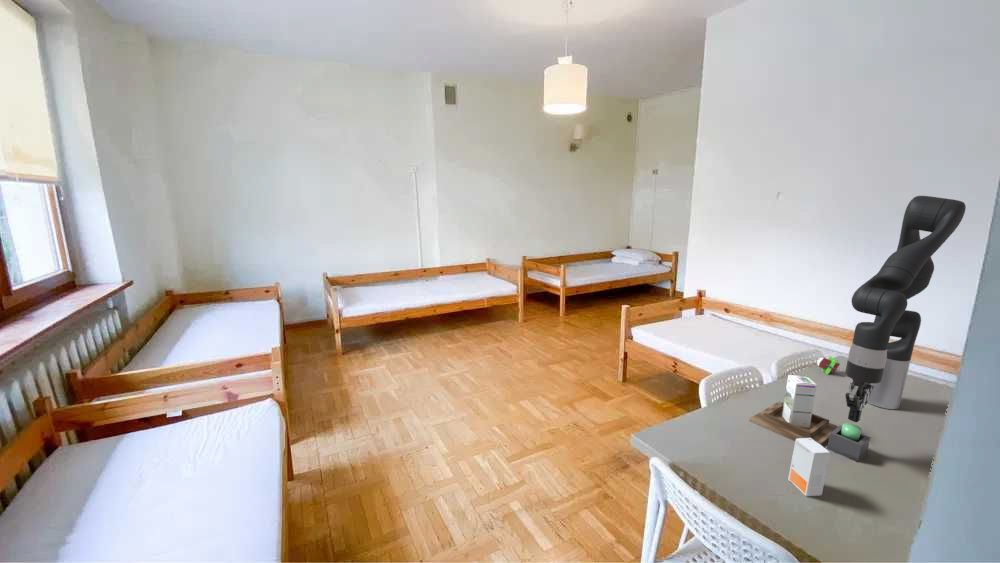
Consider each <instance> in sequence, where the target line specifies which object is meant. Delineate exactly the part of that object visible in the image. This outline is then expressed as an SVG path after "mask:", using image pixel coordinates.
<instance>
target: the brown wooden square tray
mask: <svg viewBox="0 0 1000 563" xmlns="http://www.w3.org/2000/svg"><path fill="white" fill-rule="evenodd" d="M783 406H784V401H783V402H780V403H779V402H776V403H773V404H771V405H770V406H768V407H766V408H765V409H763V410H761V411H760V412H758V413H757V414H754V415H753V416H751V417H750V418H749V422H750V423H753V422H754V423H753V424H755V423H756V425H757V424H758V426H760V427H762V428H765V429H766V428H767V430H769V431H771V432H773V433H775V434H778V435H781V436H782V437H785V438H787V439H790V440H791V441H793V442H795V440H796V439H797V438H812V439H813V440H814V441H816V442H817V443H819V444H820V445H822V446H823V445H824V444H825V443H827V442H828V441H829V436H830V433H831V432H832V431H833V430H835V429H836V428H837V427H839V426H840V425H836V424H834V423H832V422H830V419H827V418H826V417H823V416H820V415H817V414H814V413H812V416H811V422H810V427H809V428H804V427H798V426H796V425H793V424H791V423H788V422H786V421H785V420H784V418H783V417H782V412H783Z"/></svg>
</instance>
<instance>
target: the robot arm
mask: <svg viewBox="0 0 1000 563" xmlns="http://www.w3.org/2000/svg"><path fill="white" fill-rule="evenodd" d="M965 212H966V204H965V202H964V201H961V200H957V199H951V198H943V197H937V196H931V195H930V196H929V195H917V196H914V197H913V198H912V199H911V200H910V201H909V202H908V204H907V206H906V208H905V210H904V215H903V218H902V223H901V229H900V234H899V240H898V245H897V248H896V251H894V252H893V253H891V255H890V256H888V257H887V259H886V260H885V262H884V263H883V265H882V266H881V267H880V269H879V270H878V272H877V273H876V274H875V275H873V276H872V277H871V278H869V280H867V281H866V282H864V283H863V284H862V285H860V286H859V287H858V288H857V289H856V290H855V291H854V292H853V294H852V297H851V306H852V308H853V310H855V311H856V312H859V313H863V314H867V315H871V316H875V317H874V319H873V320H874V321H873V322H871V321H861V322H858V323H857V324H856V326H855V328H854V334H853V338H852V343H851V346H850V349H849V352H848V356H847V357H848V358H847V362H846V365H845V366H846V367H845V371H844V372H845V375H846V376H847V377H848V378H850V379H852V382H850V383H849V385H848V392H846V393H845V401H846V406H847V408H849V411H848V417H847V419H848V420H849V421H851V422H854V423H859V421H860V420H861V415H862V411H863V409H864V408H865V406H866V405H867V404H870V405H873V406H876V407H879V408H882V409H887V410H898V409H900V406H901V402H902V398H903V394H904V389H905V385H906V381H907V377H908V373H909V368H910V364H911V361H912V360H911V359H912V356H913V351H914V347H915V343H916V340H917V337H918V334H919V330H920V328H921V324H922V316H921V314H920V313H919V312H918V311H914V310H908V309H907V307H908V300H910V299H911V298H913V297H915V296H917V295H919V294H920V293H921V292H923V291H925V290H926V288H927V287H929V285H930V282H931V279H932V276H933V274H934V271H935V264H934V260H933V258H932V256H933V255H934V254H935V253H936V252H937V251H938V250H939V249H940V248H941V247H942V245H943V244H944V243H945V242H946V241H947V240H948V239H949V237H950V236H951V235H952V234H953V233H954V232H955V231H956V230H957V228H958V227H959V226H960V224H961V222H962V220H963V219H964V215H965V214H966V213H965ZM920 231H923V232H928V233H930V234H929V235H927V236H925V237H923V238H921V235H920ZM891 337H894V338H900V339H898V340H895V341H890V338H891Z"/></svg>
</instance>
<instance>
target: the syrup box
mask: <svg viewBox="0 0 1000 563" xmlns="http://www.w3.org/2000/svg"><path fill="white" fill-rule="evenodd" d="M817 385H818V384H817V383H816V382H815V381H814V380H812V379H811V378H810V377H808V376H805V375H797V374H796V375H793V374H791V375H790V374H789V375H788V376H787V381H786V387H785V388H786V389H785V393H784V398H783V400H784V401H783V403H784V406H783V412H782V417H783V418H784V420H785V421H786V422H788V423H791V424H793V425H796V426H798V427H804V428H809V427H810V422H811V416H812V414H813V408H814V403H815V396H816V391H817Z"/></svg>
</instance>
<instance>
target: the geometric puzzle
mask: <svg viewBox="0 0 1000 563" xmlns="http://www.w3.org/2000/svg"><path fill="white" fill-rule="evenodd" d="M816 364H817V367H818V368H819V369H820V371H822V372H823V373H825V374H826V375H827V376H828V375H830V374H835V373H836V372H840V369H839V367H840V365H841V363H839V361H838V359H836V358H834V357H833V356H831V355H830V356H828V358H827V357H819V358H818V359H817V361H816Z"/></svg>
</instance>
